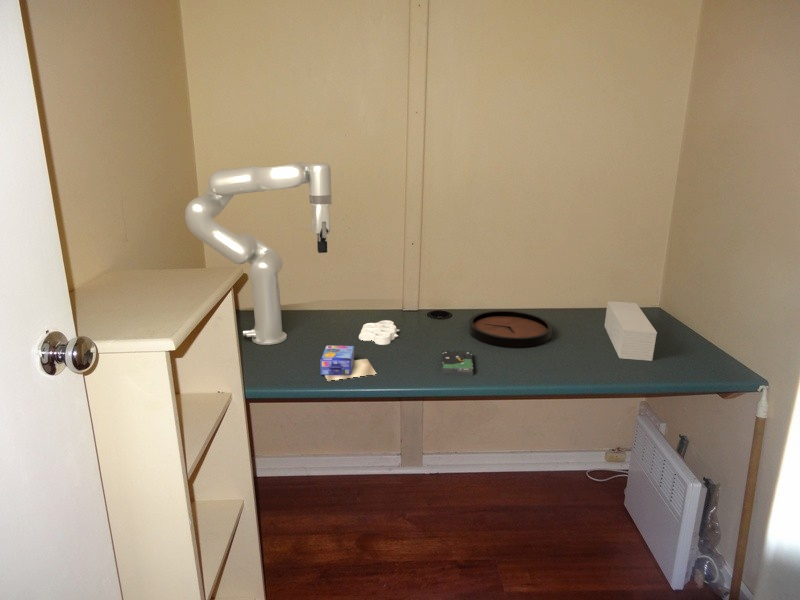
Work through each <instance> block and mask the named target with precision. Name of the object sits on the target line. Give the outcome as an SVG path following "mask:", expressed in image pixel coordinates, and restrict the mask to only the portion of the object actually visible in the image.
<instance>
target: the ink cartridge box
mask: <svg viewBox="0 0 800 600" xmlns="http://www.w3.org/2000/svg"><path fill="white" fill-rule="evenodd" d="M323 350H324V351H323V352H322V356H321V358H320V361H319V363H320V364H319V365H320V375H321V376H325V375H351V370H352V366H353V362H354V360H355V346H354V345H326V346H325V349H323Z"/></svg>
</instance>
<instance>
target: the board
mask: <svg viewBox="0 0 800 600" xmlns="http://www.w3.org/2000/svg"><path fill="white" fill-rule="evenodd" d="M375 374H377V372H376V370H375V369H374V367H373V366H372V364H371V362H370V361H369V359H368V358H363V359H361V358H360V359H354V362H353V366H352V370H351V375H324V377H325V380H326V379H327V380H326V381H328V382H332V381H331V380H335V381H340V380H339V379H343V380H348V379H347V378H350V379H354V378H353V377H358V378H361V377H360V376H365V377H367V376H366V375H373V376H376V375H375ZM377 375H378V374H377Z"/></svg>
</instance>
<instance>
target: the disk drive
mask: <svg viewBox="0 0 800 600" xmlns="http://www.w3.org/2000/svg"><path fill="white" fill-rule="evenodd" d="M441 375H451V376H453V375H454V376H455V375H456V376H474V359H473V351H471V350H470V351H466V350H454V351H450V350H448V349H447V350H444V349H442V352H441Z"/></svg>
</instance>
